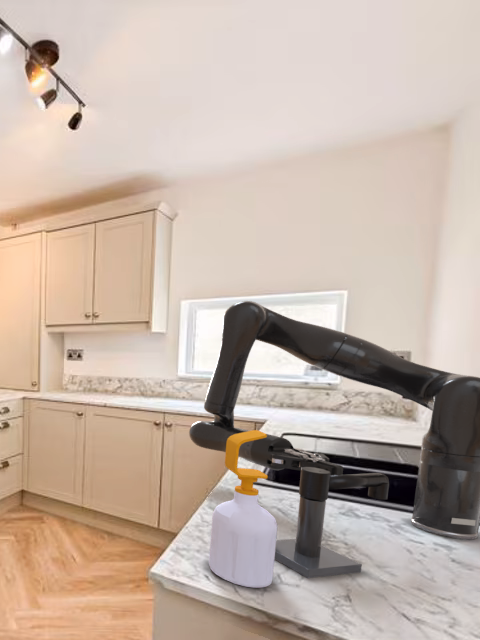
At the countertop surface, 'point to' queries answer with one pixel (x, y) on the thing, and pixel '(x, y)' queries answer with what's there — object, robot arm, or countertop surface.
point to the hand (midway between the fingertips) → (339, 471)
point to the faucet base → (314, 564)
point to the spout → (340, 483)
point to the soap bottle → (243, 526)
